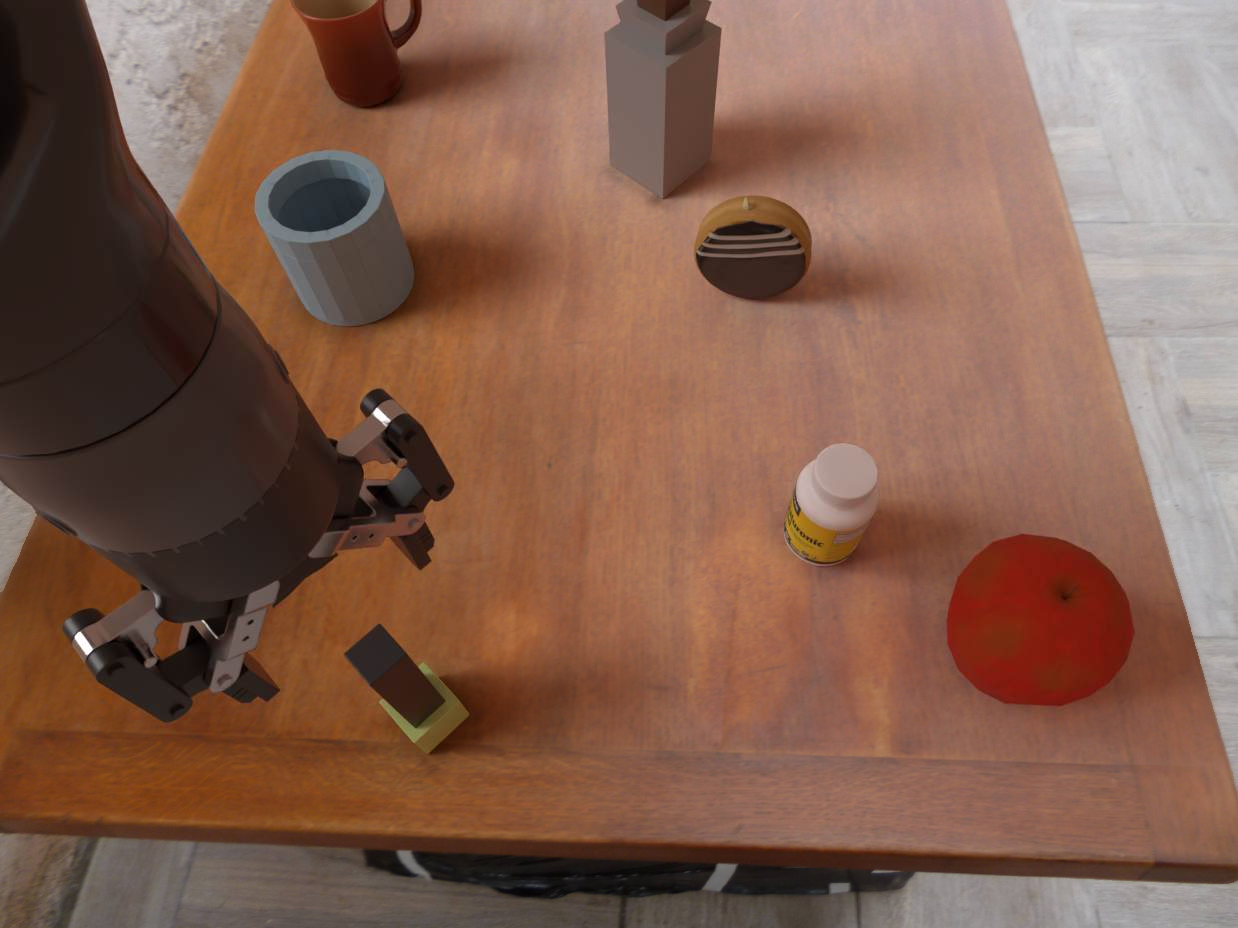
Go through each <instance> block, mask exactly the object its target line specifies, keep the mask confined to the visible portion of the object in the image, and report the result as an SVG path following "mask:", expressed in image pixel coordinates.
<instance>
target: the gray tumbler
mask: <svg viewBox="0 0 1238 928" xmlns="http://www.w3.org/2000/svg"><path fill="white" fill-rule="evenodd" d="M254 199H255V200H254V214H255V216H256V218H257V221H258V223H259V225H260V227H261V229H262V231H263V232H264V234H265V236H266V238H267V240H268V242H269V244H270V246H271V248H272V250H273V251H274V254H275V255H276V257H277V259H278V261H279V262H280V265H281V266H282V268H283V270H284V272H285V274H286V276H287V277H288V279H289V281H290V283H291V285H292V287H293V288H294V291H295V292H296V294H297V297H298V298H299V301H300V302H301V303H302V305H303V306H304V308H305V309H306V311H307V312H308V313H309V314H310V315H311V316H312V317H314V318H315V319H317V320H318V321H320V322H323V323H325V324H328V325H332V326H337V327H357V326H358V327H359V326H364V325H367V324H371V323H374V322H377V321H380V320H381V319H384V318H386V317H387V316H389V315H391V314H392V313H393V312H395V311H396V310H397V309H398V308H399V307H400V306H402V305H403V303H405V301H406V300H407V298H408V297H409V295H410V293H411V291H412V289H413V286H414V282H415V274H416V273H415V267H414V265H413V264H414V263H413V260H412V256H411V253H410V250H409V247H408V245H407V242H406V239H405V236H404V233H403V229H402V227H401V224H400V222H399V219H398V215H397V212H396V208H395V206H394V204H393V200H392V197H391V195H390V192H389V189H388V186H387V183H386V179H385V177H384V176H383V173H382V172H381V170H380V169H379V167H378V166H377V164H375V163H374V162H372V161H371V160H370V159H369V158H367V157H366V156H363V155H362V154H358V153H355V152H353V151H348V150H339V149H323V150H319V151H318V150H316V151H310V152H308V153H305V154H304V153H303V154H302V155H298V156H296V157H295V156H294V157H293V158H290V159H289V160H287V161H286V162H284V163H282V164H281V165H279V166H277V167H276V168H274V169H273V171H271V172H270V174H268V176H266V177H265V178H264V180H262V182H261V184H260V186H259V188H258V190H257V191H256V194H255V197H254Z"/></svg>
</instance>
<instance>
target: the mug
mask: <svg viewBox="0 0 1238 928" xmlns="http://www.w3.org/2000/svg"><path fill="white" fill-rule="evenodd" d="M387 1H388V0H290V4H291V6H292V7H291V8H293V11H294V12H295V13H296V14H297V16H298V17H299V18H300V20H301V21H302V23H303V24H304V26H305V27H306V28H307V30H308V31H309V33H310V35H311V38H312V40H313V43H314V46H315V49H316V52H317V57H318V59H319V62H320V65H321V68H322V70H323V73H324V77H325V80H326V81H327V83H328V85H329V87H330V89H331V90H332V91H333V93H334V95H335V96H336V98H337V99H339V100H340V101H341V102H343V103H345V104H347V105H350V106H355V107H361V108H363V107H364V108H365V107H372V106H377V105H380V104H383V103H384V102H386V101H388V100H389V99H391V97H393V96H394V95H395V94H396V92H397V91H398V90H399V89H400V86H401V83H402V67H401V59H400V57H399V55H398V50H399V49H400V48H402V47H403V46H405V45H406V44H407V43H408V42H409V41H410V39H411V38H412V37H413V36H414V34H415V33H416V32H417V30H418V29H419V26H420V23H421V20H422V14H423V0H409V13H408V16H407V18H406V20H405V22H404V23H403V24H402V25H401V26H399V27H398V28H396V29H393V30H391V29H390V26H389V21H388V16H387Z"/></svg>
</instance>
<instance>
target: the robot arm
mask: <svg viewBox="0 0 1238 928" xmlns="http://www.w3.org/2000/svg"><path fill="white" fill-rule="evenodd" d="M120 117H121V116H120V112H119V108H118V105H117V100H116V97H115V92H114V89H113V85H112V81H111V76H110V73H109V70H108V66H107V62H106V59H105V56H104V53H103V50H102V47H101V45H100V42H99V39H98V36H97V33H96V29H95V27H94V23H93V20H92V17H91V14H90V10H89V7H88V4H87V1H86V0H0V482H1V483H2V484H3V485H4V486H5V487H6V488H8V489H9V490H10V491H11V492H13V494H15V495H16V496H18V497H19V498H20V499H22V500H23V501H25V503H26V504H29V505H30V506H31V507H32V509H33V510H34V511H35V514H36V515H37V516H38V517H40V518H41V519H43V520H44V521H46V522H47V523H48V524H50V525H51V526H53V528H56V529H57V530H59V531H60V532H62V533H63V534H64V535H67V536H72V537H75V538H76V539H78V540H79V541H80V542H82V543H83V544H85V545H86V546H87V547H89V548H91V549H92V550H93V551H95V552H96V553H97V554H99V555H100V556H102V558H105V559H106V560H107V561H109V562H110V563H111V564H113V565H114V566H116V567H117V568H119V570H121V571H122V572H124V573H126V574H127V575H128V576H130V577H131V578H133V579H134V580H136V581H137V582H138V583H139V588H140V589H139V590H140V591H139V592H137V593H136V594H135V595H134V596H132V597H130V598H129V599H127V600H126V601H125V602H124V603H122V604H120V605H119V606H118V607H116V608H115V609H114V610H112V611H111V612H109V613H107V614H104V613H103V612H101V611H100V610H99V609H98V608H95V607H87V608H83V609H80V610H78V611H76V612H74V613H73V614H71V615H69V616H68V617H67V618H66V619H65V620H64V622H63V623H62V627H61V631H62V633H63V635H65V637H66V638H67V640H68V641H69V643H70V644H71V646H72V647H73V650H75V652H76V653H77V655H78V656H79V658H80V659H81V660H82V662H83V663H84V665H85V667H87V669H88V670H89V672H90V673H91V675H92V676H93V677H94V679H95V680H96V682H97V683H98V684H100V685H101V686H103V687H105V688H107V689H108V690H110V691H111V692H113V693H115V694H117V696H120V697H121V698H123V699H124V700H126V701H128V702H129V703H131V704H132V705H135V706H136V707H137V708H139V709H141V710H143V711H144V712H146V713H147V714H149V715H150V716H153V717H154V718H156V719H158V720H159V721H161V722H163V723H165V724H166V723H172V722H175V721H177V720H179V719H180V718H182V717H183V716H185V715H186V714H187V713H188V712H189V711H190V709H191V708H192V707H193V705H194V700H193V697H195V696H196V695H198V694H200V693H201V692H204V691H207V690H209V691H210V692H211V693H213V694H217V693H223V694H225V695H227V696H228V697H230V698H232V699H233V700H236V701H237V702H238V703H240V704H251V703H252V702H253V701H255V699H257V698H260V700H263V701H264V702H266V703H268V702H269V701H270V700H272V699H273V698H274V697H275V696H276V695H278V693H280V692H281V689H280V687H279V685H278V684H277V683H276V681H274V679H273V678H272V677H271V676H270V675H269V673H268V672H267V671H266V669H264V667H263V666H262V664H261V662H259V661H258V660H257V659H256V658H255V657H254V656H253V655H251V654H250V652H252V651H255V650H256V649H257V647H258V644H259V642H260V639H261V634H262V631H263V628H264V624H265V620H266V617H267V615H268V614H267V613H268V611H269V607H270V606H271V607H272V608H276V606H278V605H279V604H280V603H282V602H283V601H284V600H286V599H287V597H289V596H290V595H291V594H292V593H293V592H294V591H295V590H296V589H297V588H298V587H299V586H300V584H302V582H304V581H305V579H307V578H308V577H310V576H312V575H314V574H315V573H317V572H319V571H320V570H321V569H323V568H325V567H326V566H327V565H328V564H329V563H331V562H333V560H335V559H336V558H337V557H339V553H338V552H340V551H350V550H351V551H352V550H359V549H370V548H377V547H381V546H382V545H383V543H384V542H385V540H386V538H390V540H391V541H392V543H393V544H394V545H395V546H396V548H397V549H398V550H399V551H400V552H401V553H402V554H403V555H404V556H405V557H406V558H407V559H408V561H410V562H411V563H412V565H414V567H415V568H416V569H417V570H419V572H421V571H422V570H423V569H424V568H426V567H427V566H428V565H429V564H430V563H431V562H433V561H432V559H431V557H430V555H429V553H428V552H430V551H431V550H432V549H433V548H434V547H435V543H436V542H435V541H436V538H435V537H434V535H433V533H432V531H431V530H430V527H429V526H428V524H427V522H426V518H427V516H426V514H425V513H424V511H425V509H426V507H427V506H428V505H429V504H430V502H431V501H432V502H436V503H437V502H442V501H444V500H445V499H446V498H448V496H449V495H450V494H451V493H452V492H453V490H454V488H455V483H456V482H455V481H454V479H453V477H452V476H451V473H450V471H449V470H448V468H447V466H446V464H445V463H444V461H443V459H442V458H441V456H440V454H439V452H438V450H437V448H436V446H435V445H434V443H433V442H432V440H431V438H430V436H429V435H428V433H427V431H426V429H425V428H424V426H423V425H422V424H421V423H420V422H419V421H417V419H415V417H414V416H412V415H411V414H410V413H409V412H408V411H407V410H406V409H405V408H404V407H403V406H402V405H401V404H400V403H398V401H397V400H395V399H394V398H393V397H392V396H391V395H390V394H389V392H387V391H386V390H385V389H384V388H374V389H372V390H370V391H369V392H367V393H366V394H365V395H364V397H362V399H361V401H360V404H359V409H360V412H361V413H362V414H363V415H364V418H365V419H363V420H362V421H361V422H359V424H357V425H356V426H355V427H354V428H352V429H351V430H350V431H349V432H348V433H346V434H345V435H344V436H343V437H342V438H341V439H339V440H337V439H335V438H331V437H328V436H327V435H326V433H325V432H324V430H323V429H322V427H321V426H320V424H319V422H318V421H317V419H316V418H315V416H314V414H313V413H312V411H311V410H310V408H309V407H308V405H307V403H306V402H305V400H304V399H303V397H302V396H301V394H300V392H299V391H298V389H297V388H296V386H295V385H294V383H293V381H292V379H291V378H290V376H289V375H290V372H289V369H288V368H287V366H286V364H285V362H284V360H283V358H282V357H281V355H280V353H279V352H278V351H277V349H275V348H273V346H272V345H271V344H270V343H268V342H267V340H266V339H265V337H264V336H263V334H262V332H261V331H260V329H259V328H258V327H257V325H256V324H255V323H254V321H253V320H252V319H251V317H250V316H249V314H248V313H247V312H246V311H245V309H243V307H242V306H241V305H240V304H239V303H238V302H237V300H236V299H235V298H234V297H233V296H232V295H231V294H230V293H229V291H227V290H226V289H225V288H224V287H223V286H222V284H221V283H220V282H219V281H218V280H217V279H216V278H215V276H214V274H212V272H211V271H210V270H209V268H208V266H207V265H206V264H205V262H204V261H203V258H202V257H201V256H200V254H199V253H198V251H197V249H196V248H195V247H194V245H193V244H192V242H191V241H190V239H189V237H188V236H187V234H186V233H185V231H184V230H183V228H182V227H181V225H180V224H179V222H178V220H177V219H176V217H175V216H174V215H173V213H172V211H171V209H170V208H169V206H168V205H167V204H166V202H165V201H164V199H163V197H162V195H160V194H159V192H158V190H157V189H156V188H155V186H154V185H153V184H152V182H151V180H150V179H149V178H148V176H147V174H146V173H145V171H144V170H143V168H142V167H141V165H140V164H139V163H138V161H137V159H136V158H135V157H134V155H133V154H132V151H131V149H130V146H129V143H128V141H127V138H126V135H125V131H124V128H123V124H122V121H121V118H120ZM372 461H373V462H374V461H376V462H378V463H379V464H381V465H387V464H390V463H393V464H394V466H396V468H399V469H400V470H399V471H398V472H397V474H396V475H395V476H394V477H393V478H392V479H390V478H366V479H365V471H364V470H365V469H364V468H363V466H364V465H365V464H367V463H369V462H372ZM164 621H166V622H170V623H174V624H182V626H181V630H180V635H179V639H178V643H177V648H178V650H177V651H175V652H174V653H172V654H171V655H169V656H167V657H165V658H164V659H162V658H161V656H160V655H159V654H158V653H157V652H155V651H154V650H155V648H156V647H157V645H158V644H159V643H158V642H159V639H158V637H157V635H156V631H157V629H158V627H159V626H160V625H161V623H163V622H164Z"/></svg>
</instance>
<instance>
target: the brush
mask: <svg viewBox="0 0 1238 928" xmlns="http://www.w3.org/2000/svg"><path fill="white" fill-rule="evenodd" d="M343 657H344V658H345V659H346V660H347V662H349V664H350V666H352V667H353V668H354V670H355V671H356V672H357V673H358V674H359V675H360V676H361V678H362V679H363V680H364V681H365V682H366V684H368V686H369V687H370V688H371V689H372V690H373V691H374V692H375V693H376V694H377V695H379V696H380V697H381V698H382V699H380V700H379V701H378V703H379V704H380V705H381V706H382V708H383V709H384V710H385V711H386V712H387V713H388V715H389V716H390V717H391V718H392V719H393V721H394V722H395V723H396V725H398V727H399V728H400V729H401V730H402V731H403V733H405V735H406V736H407V738H409V740H410V741H411V742H412V743H413V744H414V745H415V746H416V747H418V748H419V749H420V750H421V751H422V752H423V753H425V755H429V754H430V753H431V752H432V751H433V750H434V749H435V748H437V746H438V745H439V744H440V743H441V742H443V741H444V740H445V739H446V738H447V737H448V736H449V735H450V734H451V733H452V732H453V731H454V730H455V729H456V728H458V727H459V726H460V725H461V724H462V723H463V722H464V721H465V720H466V719H467V718H468V717H469V716H470V712H469V711H468V710H467V709H466V708H465V706H464V705H463V704H462V701H460V700H459V698H458V697H457V696H456V695H455V694H454V693H453V692H452V691H451V689H450V688H449V687H448V686H447V685H446V684H445V683H444V682H443V681H442V680H441V679H440V677H438V675H437V674H436V673H435V671H433V670H432V669H431V668H430V666H429V665H428V664H427V663H426V662H425V661H422V663H420V664H419V665H418V664H417V663H415V661H414V660H413V659H412V657H411V656H410V655H409V654H408V653H407V651H405V649H404V648H403V647H402V646H401V645H400V644H399V642H397V640H396V639H395V638H394V637H393V636H392V635H391V634H390V632H388V630H387V629H386V628H385V627H384V626H383V625H382V624H381V623H377V624H376V625H375V626H374V627H372V629H371V630H369V631H368V632H367V633H366V634H365V635H364V636H363V637H361V638H360V639H359V640H358V641H357V642H356V643H354V644H353V645H352V646H351V647H350V648H349V649H347V650H346V651H345V652H344V653H343Z"/></svg>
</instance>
